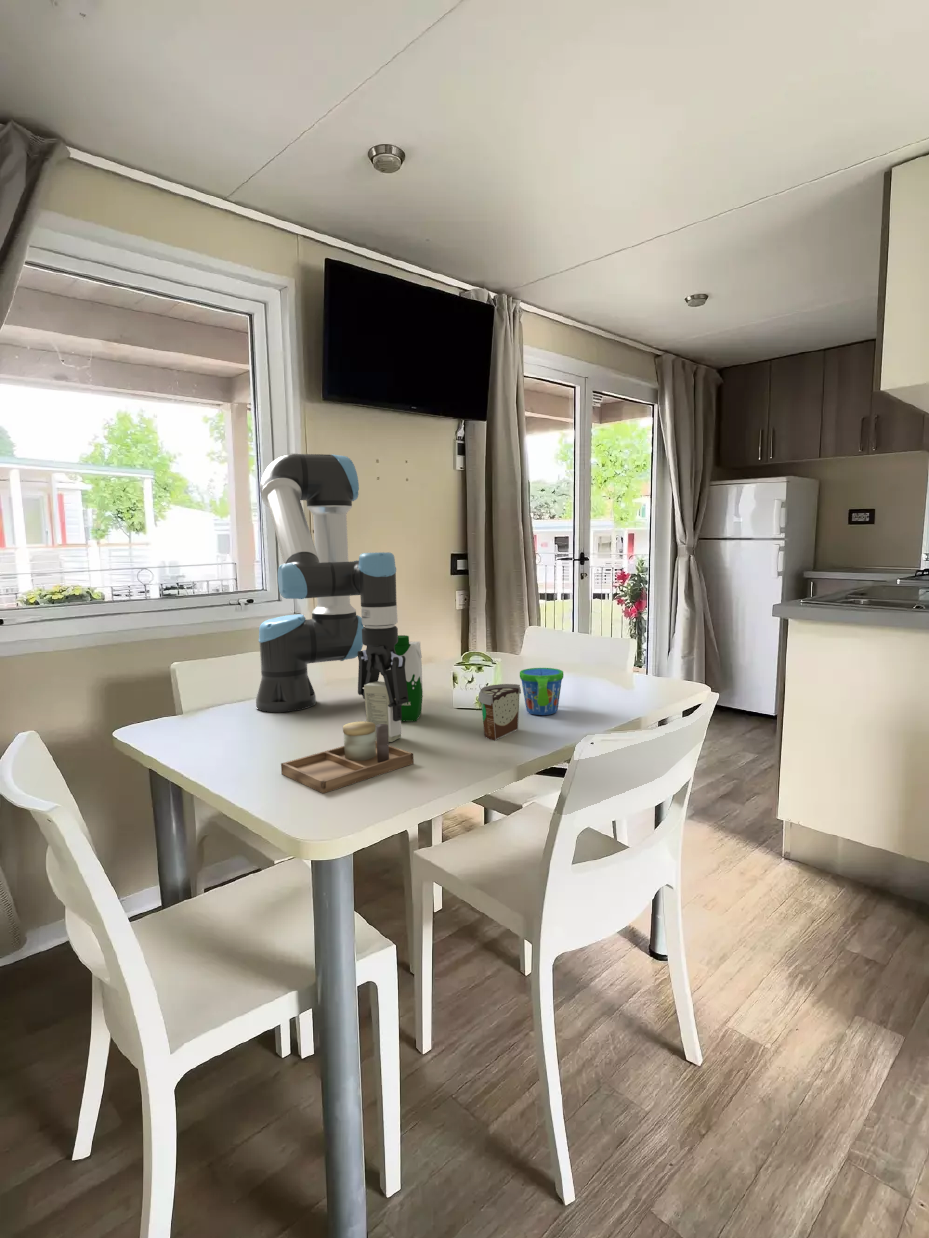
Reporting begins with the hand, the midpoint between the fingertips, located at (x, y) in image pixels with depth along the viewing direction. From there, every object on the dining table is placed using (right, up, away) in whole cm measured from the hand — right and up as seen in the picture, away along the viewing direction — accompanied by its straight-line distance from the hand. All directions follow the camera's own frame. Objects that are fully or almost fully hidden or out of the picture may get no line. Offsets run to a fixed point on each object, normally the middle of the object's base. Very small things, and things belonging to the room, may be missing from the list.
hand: (383, 731), depth 141 cm
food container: (+24, -1, +3) cm, 24 cm away
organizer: (-4, -4, -18) cm, 19 cm away
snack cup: (+36, +1, +19) cm, 41 cm away
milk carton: (+3, 0, +17) cm, 17 cm away
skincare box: (0, -2, 0) cm, 2 cm away
